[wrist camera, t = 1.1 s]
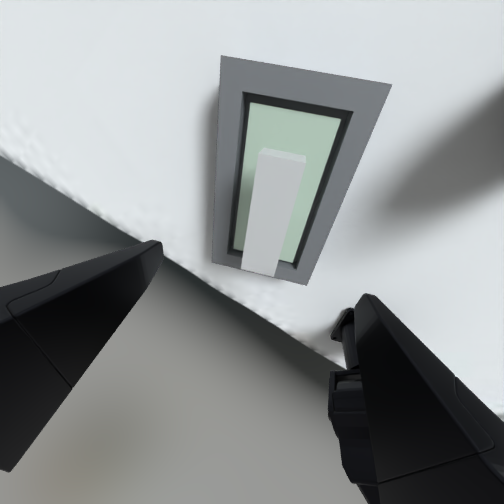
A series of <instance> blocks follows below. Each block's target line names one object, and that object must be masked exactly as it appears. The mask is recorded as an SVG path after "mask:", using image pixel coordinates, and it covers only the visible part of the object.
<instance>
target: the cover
mask: <svg viewBox="0 0 504 504" xmlns="http://www.w3.org/2000/svg"><path fill="white" fill-rule="evenodd" d="M340 121H341V119H339V118H334V117H328V116H323V115H317V114H312V113H307V112H301V111H296V110H290V109H285V108H279V107H274V106H269V105H263V104H258V103H252V102H250V110H249V119H248V127H247V136H246V145H245V153H244V162H243V170H242V179H241V188H240V196H239V205H238V213H237V222H236V230H235V239H234V248H233V249H237V250H241V251H243V258H242V264H241V269H243V270H247V271H251V272H255V273H259V274H263V275H267V276H271V277H274V274H275V271H276V267H277V264H278V260H283V261H287V262H291V263H293V260H294V257H295V254H296V251H297V248H298V245H299V242H300V239H301V236H302V233H303V231H304V228H305V225H306V222H307V219H308V216H309V213H310V210H311V207H312V204H313V201H314V198H315V195H316V192H317V189H318V186H319V183H320V180H321V177H322V174H323V171H324V168H325V165H326V163H327V160H328V157H329V154H330V151H331V148H332V145H333V142H334V139H335V136H336V133H337V130H338V127H339V124H340Z"/></svg>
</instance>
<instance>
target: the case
mask: <svg viewBox="0 0 504 504" xmlns="http://www.w3.org/2000/svg"><path fill="white" fill-rule="evenodd" d="M391 87H392V84H387V83H381V82H375V81H370V80H364V79H358V78H352V77H346V76H340V75H334V74H328V73H322V72H317V71H311V70H305V69H299V68H293V67H287V66H281V65H275V64H269V63H264V62H258V61H252V60H246V59H240V58H234V57H228V56H222V55H221V63H220V86H219V109H218V132H217V155H216V177H215V200H214V223H213V246H212V263H216V264H220V265H225V266H229V267H233V268H237V269H241V264H242V258H243V251H241V250H237V249H233V248H234V239H235V230H236V222H237V213H238V205H239V196H240V188H241V179H242V170H243V162H244V153H245V145H246V136H247V127H248V119H249V110H250V102H252V103H258V104H263V105H269V106H274V107H279V108H285V109H290V110H296V111H301V112H307V113H312V114H317V115H323V116H328V117H334V118H339V119H341V121H340V124H339V127H338V130H337V133H336V136H335V139H334V142H333V145H332V148H331V151H330V154H329V157H328V160H327V163H326V165H325V168H324V171H323V174H322V177H321V180H320V183H319V186H318V189H317V192H316V195H315V198H314V201H313V204H312V207H311V210H310V213H309V216H308V219H307V222H306V225H305V228H304V231H303V233H302V236H301V239H300V242H299V245H298V248H297V251H296V254H295V257H294V260H293V263H291V262H287V261H283V260H278V264H277V267H276V271H275V274H274V278H278V279H282V280H286V281H290V282H294V283H298V284H302V285H306V286H307V284H308V282H309V279H310V277H311V275H312V272H313V270H314V268H315V265H316V263H317V261H318V258H319V256H320V254H321V251H322V249H323V246H324V244H325V242H326V239H327V237H328V235H329V232H330V230H331V228H332V225H333V223H334V221H335V218H336V216H337V214H338V211H339V209H340V207H341V204H342V202H343V199H344V197H345V195H346V192H347V190H348V188H349V185H350V183H351V181H352V178H353V176H354V174H355V171H356V169H357V167H358V164H359V162H360V159H361V157H362V155H363V152H364V150H365V148H366V145H367V143H368V141H369V138H370V136H371V134H372V131H373V129H374V127H375V124H376V122H377V120H378V117H379V115H380V112H381V110H382V108H383V105H384V103H385V101H386V98H387V96H388V94H389V91H390V89H391ZM241 270H243V269H241ZM245 271H247V270H245ZM249 272H251V271H249ZM253 273H255V272H253ZM257 274H259V273H257ZM261 275H263V274H261ZM265 276H267V275H265ZM269 277H271V276H269Z"/></svg>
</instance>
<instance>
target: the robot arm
mask: <svg viewBox="0 0 504 504" xmlns="http://www.w3.org/2000/svg"><path fill="white" fill-rule="evenodd" d="M163 257H164V254H163V246H162V243H161V242H160V241H156V240H149V241H146V242H143V243H140V244H137V245H134V246H131V247H128V248H125V249H122V250H119V251H115V252H112V253H109V254H106V255H103V256H100V257H97V258H94V259H91V260H88V261H85V262H81V263H78V264H75V265H73V266H69V267H66V268H63V269H62V270H57V271H53V272H50V273H47V274H44V275H41V276H38V277H34V278H31V279H28V280H24V281H21V282H17V283H14V284H10V285H7V286H3V287H0V470H3V471H6V472H11V470H12V469H13V468H14V467H15V466H16V464H17V463H18V462H19V460H20V459H21V458H22V456H23V455H24V454H25V452H26V451H27V450H28V448H29V447H30V445H31V444H32V443H33V442H34V440H35V439H36V437H37V436H38V435H39V433H40V432H41V430H42V429H43V428H44V427H45V425H46V424H47V423H48V421H49V420H50V418H51V417H52V416H53V414H54V413H55V412H56V411H57V409H58V408H59V406H60V405H61V404H62V402H63V401H64V400H65V398H66V397H67V396H68V394H69V393H70V392H71V390H72V388H73V387H74V386H75V385H76V383H77V382H78V381H79V379H80V378H81V377H82V375H83V374H84V372H85V371H86V369H87V368H88V367H89V366H90V364H91V363H92V362H93V360H94V359H95V357H96V356H97V355H98V354H99V352H100V351H101V349H102V348H103V347H104V345H105V344H106V343H107V341H108V340H109V339H110V337H111V336H112V335H113V333H114V332H115V331H116V329H117V328H118V326H119V325H120V324H121V323H122V321H123V320H124V318H125V317H126V316H127V314H128V313H129V312H130V310H131V309H132V308H133V306H134V305H135V304H136V302H137V301H138V300H139V298H140V297H141V296H142V294H143V293H144V291H145V290H146V289H147V287H148V285H149V284H150V282H151V280H152V278H153V277H154V275H155V273H156V272H157V270H158V268H159V267H160V265H161V263H162V261H163ZM331 339H332V340H334V341H338V342H342V344H343V350H344V356H345V362H346V368H347V370H340V371H335V370H333V371H330V379H329V400H328V417H329V420H330V421H331V422H332V425H333V429H334V431H335V434H336V436H337V437H338V439H339V443H340V450H341V460H342V466H343V468H344V470H345V472H346V474H347V476H348V478H349V480H350V481H351V483H354V484H357V486H358V487H359V489H360V491H361V492H362V494H363V496H364V497H365V499H366V501H367V503H368V504H504V422H503V421H502V420H501V419H500V418H499V417H498V416H497V415H496V414H495V413H493V412H492V411H491V410H490V409H489V408H488V407H487V406H486V405H485V404H484V403H483V402H482V401H481V400H480V399H479V398H478V397H477V396H476V395H475V394H474V393H473V392H472V391H471V390H470V389H468V388H467V387H466V386H465V385H464V384H463V382H462V381H461V380H460V379H459V378H458V377H455V375H454V374H453V373H452V372H451V371H450V370H449V369H448V368H447V367H446V366H445V365H444V364H443V363H442V362H441V361H440V360H439V359H438V358H437V357H436V356H435V355H434V354H433V353H432V352H431V351H430V350H429V349H428V348H427V347H426V346H425V345H424V344H423V343H422V342H421V341H420V340H419V339H418V338H417V337H416V336H415V335H414V334H413V333H412V332H411V331H410V330H409V329H408V328H407V327H406V326H405V325H404V324H403V323H402V322H401V321H400V320H399V319H398V318H397V317H396V316H395V315H394V314H393V313H392V312H391V311H390V310H389V309H388V308H387V307H386V306H385V305H384V304H383V303H382V302H381V301H380V300H379V299H378V298H377V297H376V296H375V295H371V294H367V293H365V294H363V295H362V297H361V298H360V300H359V301H358V303H357V304H356V306H355V309H353V308H350V309H348V310H347V311H346V312H345V314H344V315H343V317H342V319H341V320H340V322H339V323H338V325H337V326H336V328H335V329H334V331H333V332H332V334H331Z"/></svg>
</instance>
